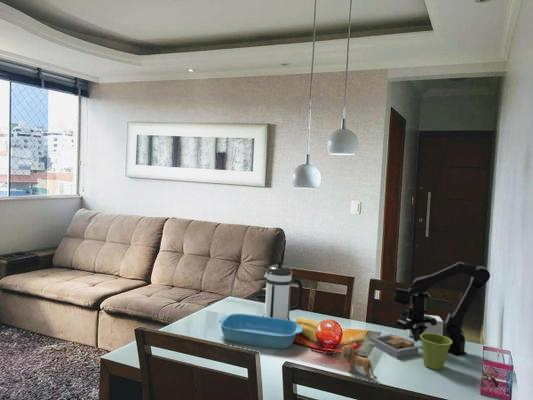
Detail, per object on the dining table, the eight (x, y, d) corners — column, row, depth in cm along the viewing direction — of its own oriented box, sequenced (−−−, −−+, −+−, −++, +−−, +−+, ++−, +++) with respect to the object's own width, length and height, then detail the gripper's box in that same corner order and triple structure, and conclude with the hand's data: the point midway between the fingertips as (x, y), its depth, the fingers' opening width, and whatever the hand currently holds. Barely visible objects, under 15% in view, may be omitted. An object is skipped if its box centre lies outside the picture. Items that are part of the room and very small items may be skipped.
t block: (413, 351, 185) (414, 342, 184) (398, 356, 179) (399, 346, 179) (394, 343, 193) (395, 334, 193) (379, 347, 187) (380, 338, 187)
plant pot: (433, 375, 163) (436, 345, 163) (411, 361, 174) (413, 334, 173) (456, 371, 168) (459, 342, 167) (433, 358, 179) (436, 331, 178)
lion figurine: (337, 369, 163) (339, 346, 163) (344, 365, 167) (345, 342, 167) (374, 382, 154) (376, 357, 154) (380, 377, 158) (382, 353, 158)
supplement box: (408, 336, 202) (442, 340, 200) (409, 317, 202) (443, 321, 199) (405, 330, 211) (438, 334, 208) (407, 312, 211) (439, 315, 208)
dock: (418, 354, 182) (419, 347, 182) (396, 359, 176) (397, 351, 176) (390, 340, 197) (390, 333, 197) (369, 343, 191) (369, 336, 191)
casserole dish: (304, 335, 197) (305, 320, 196) (298, 354, 175) (299, 337, 175) (226, 325, 204) (227, 310, 204) (211, 343, 182) (211, 326, 182)
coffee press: (284, 328, 204) (288, 265, 202) (255, 321, 212) (259, 260, 210) (301, 319, 218) (304, 260, 217) (273, 312, 227) (277, 256, 225)
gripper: (419, 299, 203) (417, 332, 204) (389, 303, 194) (386, 337, 195) (438, 306, 193) (436, 341, 194) (408, 310, 184) (405, 346, 185)
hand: (415, 341), depth 192 cm, fingers closed
